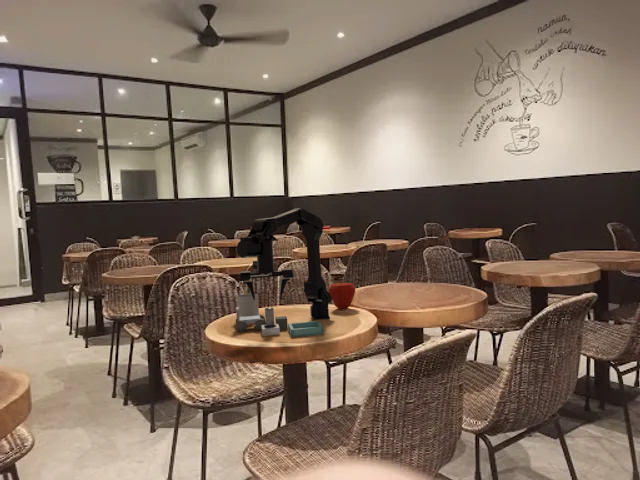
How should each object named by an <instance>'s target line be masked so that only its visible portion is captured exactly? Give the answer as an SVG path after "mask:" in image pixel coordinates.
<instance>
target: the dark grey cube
mask: <svg viewBox="0 0 640 480" xmlns="http://www.w3.org/2000/svg"><path fill="white" fill-rule="evenodd" d="M274 323H275V324H278V325H279V328H280V331H281V330H283V331H284V330H288V317H287V316H286V315H285V316H284V315H283V316H274Z"/></svg>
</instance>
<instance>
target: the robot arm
mask: <svg viewBox="0 0 640 480" xmlns="http://www.w3.org/2000/svg"><path fill="white" fill-rule="evenodd" d="M294 222H295V223H296V225H297V226H299V227H300V229H301V234H302V236H303V237H304V239H305V241H306V255H307V256H306V257H307V258H306V259H307V272H308V277H307V279H306V281H303V293H304V295H305V298H306V300H307V303H310V302H311V305H310V306H309V307H310V308H309V310H310V317H311V318H312V319H313V320H321V319H322V320H323V319H330V318H331V317H330V314H329V310H330V309H329V304H330V303H332V302H333V301H332V296H331V295H330V293H329V290H327V289H328V288H327V284H326V282H325V280H324V278H323V277H322V267H321V265H322V264H321V250H320V248H321V247H320V239H321V236H322V235H323V232H324V222H323V219H321V218H320V217H318V216H317V215H315V214H313V213H311V212H309V211H307V210H306V209H305V208H303V207H301V208H300V207H298V208H297V207H296V208H293V209H291V210H289V211H286V212H283V213H280V214H278V215H276V216H275V215H274V216H273V217H266V218H265V217H264V218H257V219H254V220H253V222H252V226H251V228H250V230H249V232H248V233H247V234H248V235H247V236H243V237H242V236H241V237H240V239H239V241H238V243H237V246H236V253H237V255H238V256H239V257H240V258H241V259H244V258H250V257H251V258H252V257H256V260H252V270H253V271H257V272H251V270H244V271H243V270H242V271H239V273H238V279H239V282H243V283H242V284H246V285H247V287H248V289H249V291H250V294H252V297H253V299H254V300H255V295H254V294H255V292H254V286H253V285H254V284H253V281H252V279H256V278H257V279H258V278H259V279H260V278H272V277H273V278H275V277H280V278H279V279H280V283H279V298H280V299H281V298H283V297H282V296H283V293H284V290H285V286H286V284H287V282H288V281H290V280H291V279H292V278H294V270H293V269H292V268H290V267H287V268H286V267H285V268H280V270H277V271H275V264H274V263H275V262H274V261H275V259H274V244H273V242H276V241H278V238H277V237H275V236H274V235H273V234H275V233H276V232H278V230H279V229H280V228H281V227H284V226H286V225H289V224H292V223H294Z"/></svg>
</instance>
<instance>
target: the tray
mask: <svg viewBox="0 0 640 480" xmlns="http://www.w3.org/2000/svg"><path fill="white" fill-rule="evenodd" d="M287 325H288V329H287V330H288V333H289V335H290V337H291V338H296V337H297V338H298V337H308V336H309V337H310V336H318V335H319V336H320V335H324V326H323V325H322V323H321V322H320V321H319V320H313V321H309V320H308V321H302V322H300V321H299V322H287Z"/></svg>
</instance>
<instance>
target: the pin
mask: <svg viewBox="0 0 640 480" xmlns="http://www.w3.org/2000/svg"><path fill="white" fill-rule="evenodd" d="M274 313H275V311H274V307H272V306H271V307H270V306H268V307H264V315H265V316H264V317H265V321H266V328H272V327H275V326H274V324H275V314H274Z"/></svg>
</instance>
